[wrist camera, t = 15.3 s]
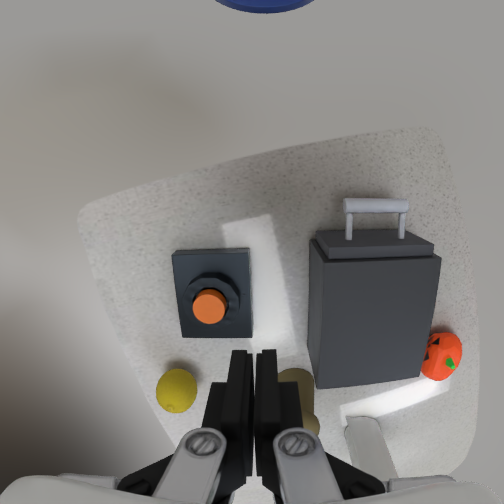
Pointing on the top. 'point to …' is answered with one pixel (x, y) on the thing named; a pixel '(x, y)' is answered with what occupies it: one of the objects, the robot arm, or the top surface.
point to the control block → (218, 278)
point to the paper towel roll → (369, 448)
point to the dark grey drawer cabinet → (369, 317)
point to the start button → (209, 306)
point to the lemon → (176, 390)
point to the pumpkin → (441, 356)
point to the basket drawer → (373, 234)
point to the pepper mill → (303, 395)
